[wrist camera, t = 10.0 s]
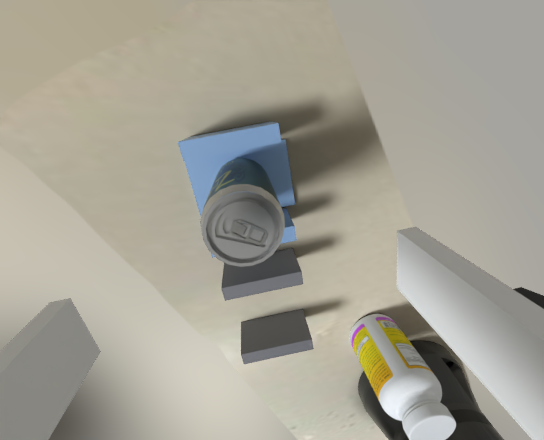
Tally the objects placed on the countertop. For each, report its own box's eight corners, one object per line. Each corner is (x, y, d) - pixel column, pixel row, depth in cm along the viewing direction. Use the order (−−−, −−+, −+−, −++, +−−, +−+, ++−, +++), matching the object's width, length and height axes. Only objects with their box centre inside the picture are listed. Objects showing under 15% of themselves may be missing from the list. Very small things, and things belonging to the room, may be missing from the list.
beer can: (277, 170, 27) (302, 209, 16) (256, 216, 29) (265, 280, 18) (227, 147, 26) (217, 172, 15) (207, 196, 27) (185, 253, 16)
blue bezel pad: (294, 203, 29) (295, 204, 29) (203, 221, 29) (202, 222, 28) (284, 139, 27) (285, 139, 26) (184, 158, 26) (183, 159, 26)
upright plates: (303, 318, 35) (313, 348, 30) (243, 330, 35) (244, 364, 30) (271, 121, 26) (278, 123, 21) (189, 137, 26) (178, 142, 21)
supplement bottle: (353, 354, 39) (404, 462, 27) (343, 321, 36) (393, 423, 24) (398, 339, 38) (468, 440, 27) (390, 304, 36) (464, 399, 24)
